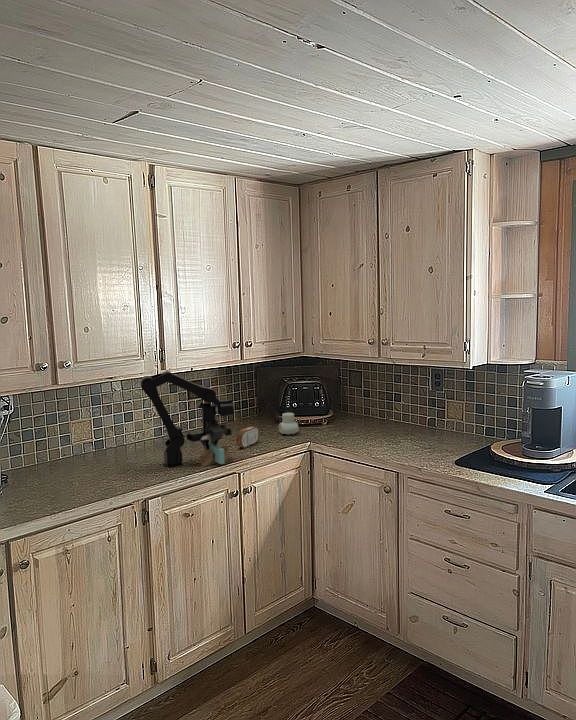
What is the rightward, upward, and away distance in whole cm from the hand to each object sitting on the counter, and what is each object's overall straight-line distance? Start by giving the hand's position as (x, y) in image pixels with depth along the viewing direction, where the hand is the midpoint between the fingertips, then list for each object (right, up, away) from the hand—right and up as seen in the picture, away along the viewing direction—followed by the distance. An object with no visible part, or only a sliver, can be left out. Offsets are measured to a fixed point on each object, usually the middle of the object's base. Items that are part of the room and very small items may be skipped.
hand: (210, 453), depth 254 cm
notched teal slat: (+2, -2, -3) cm, 4 cm away
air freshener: (+33, +3, +43) cm, 55 cm away
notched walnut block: (+2, -3, -3) cm, 5 cm away
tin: (+15, 0, +23) cm, 27 cm away
